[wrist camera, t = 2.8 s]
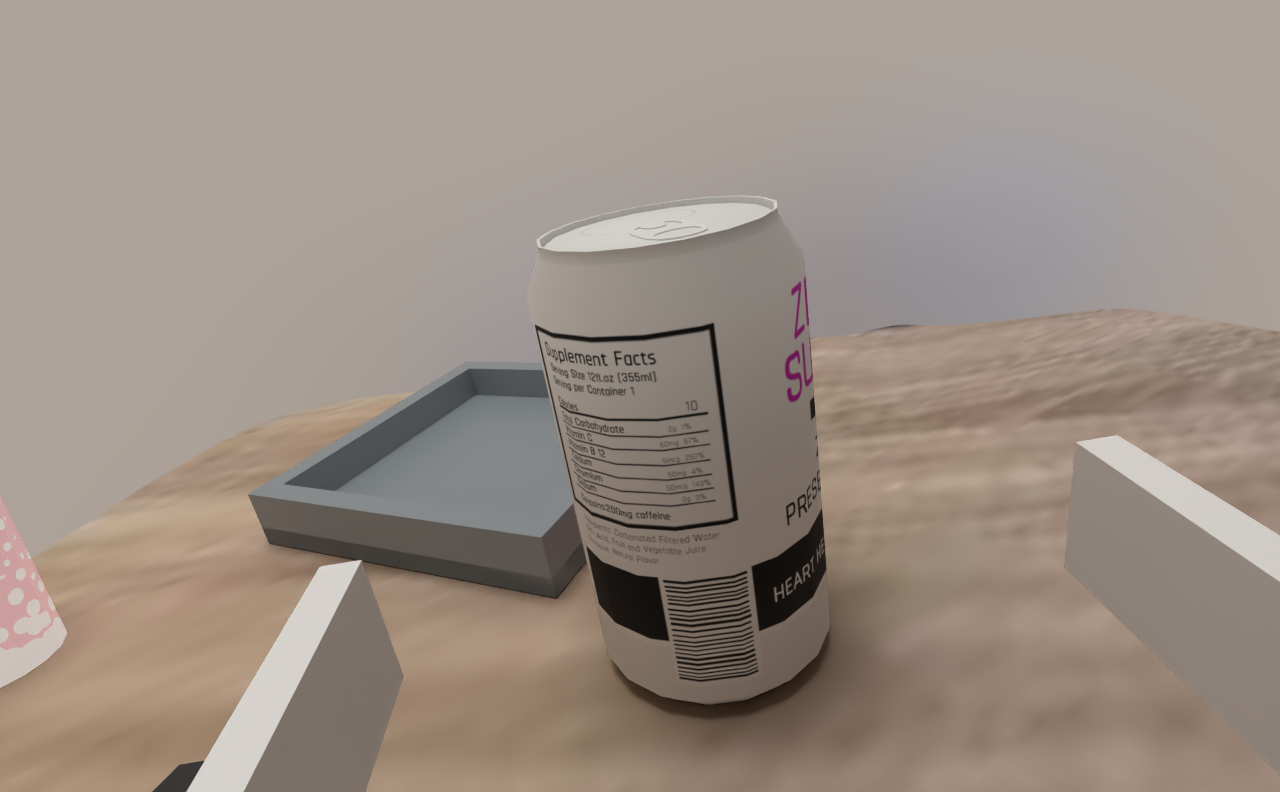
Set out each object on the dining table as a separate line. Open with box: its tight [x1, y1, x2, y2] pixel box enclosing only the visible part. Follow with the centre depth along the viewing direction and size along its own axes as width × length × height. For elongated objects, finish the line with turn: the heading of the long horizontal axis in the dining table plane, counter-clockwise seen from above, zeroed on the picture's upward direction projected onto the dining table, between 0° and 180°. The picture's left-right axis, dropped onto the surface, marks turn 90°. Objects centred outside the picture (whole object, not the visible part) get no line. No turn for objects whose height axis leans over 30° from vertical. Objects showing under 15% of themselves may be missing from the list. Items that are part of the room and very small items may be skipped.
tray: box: [248, 362, 586, 598], centre depth 40 cm, size 18×18×3 cm
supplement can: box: [527, 195, 830, 705], centre depth 23 cm, size 8×8×15 cm
